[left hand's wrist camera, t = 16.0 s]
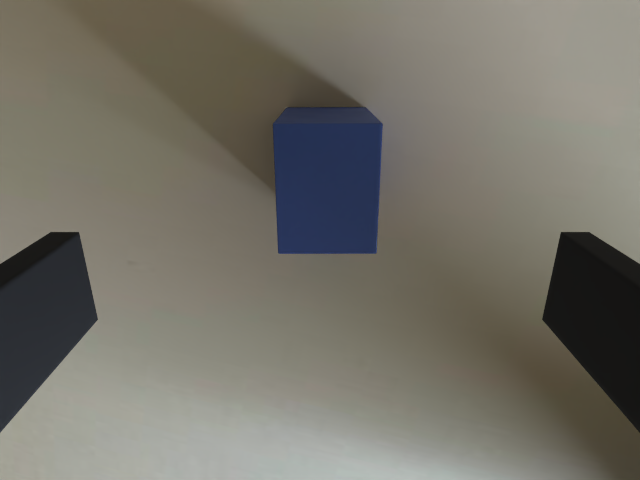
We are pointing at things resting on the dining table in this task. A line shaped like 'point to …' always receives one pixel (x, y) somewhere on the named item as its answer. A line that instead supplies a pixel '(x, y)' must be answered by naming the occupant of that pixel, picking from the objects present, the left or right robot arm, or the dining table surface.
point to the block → (327, 180)
